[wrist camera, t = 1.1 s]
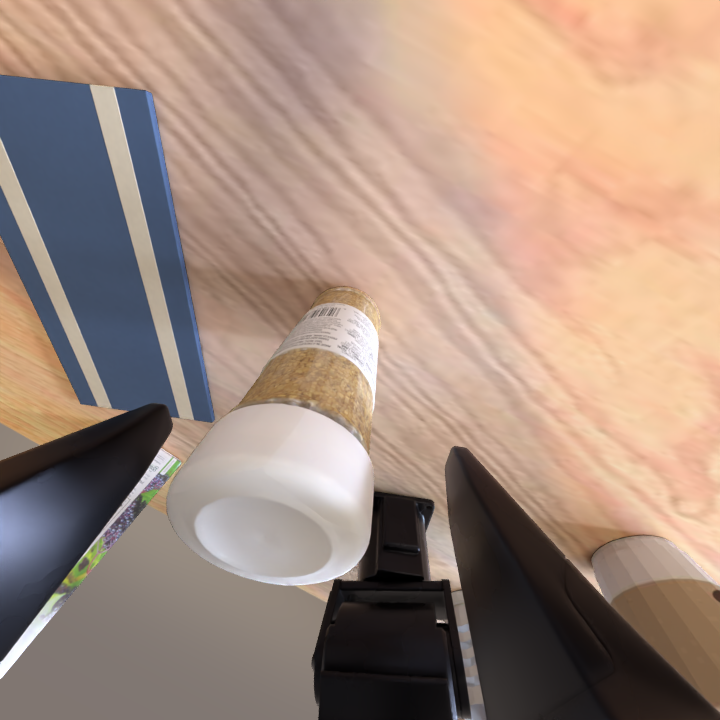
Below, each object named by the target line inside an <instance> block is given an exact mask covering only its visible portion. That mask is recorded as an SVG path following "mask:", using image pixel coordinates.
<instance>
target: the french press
mask: <svg viewBox="0 0 720 720" xmlns="http://www.w3.org/2000/svg"><path fill="white" fill-rule="evenodd" d="M451 594H452V599H453V605H454V611H455V616H456V622H457V628H458V633H459V639H460V645H461V651H462V657H463V663H464V669H465V675H466V682H467V688H468V695H469V702H470V709H471V718H472V719H465V720H487V718H486V713H485V707H484V702H483V697H482V692H481V687H480V681H479V676H478V671H477V666H476V660H475V655H474V650H473V645H472V640H471V634H470V629H469V624H468V619H467V614H466V608H465V603H464V598H463V593H462V590H461V591H455V592H452V593H451ZM444 621H445V623H447V620H444Z"/></svg>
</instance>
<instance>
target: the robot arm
mask: <svg viewBox="0 0 720 720" xmlns="http://www.w3.org/2000/svg"><path fill="white" fill-rule="evenodd" d="M172 428H173V423H172V419H171V416H170V412H169V409H168V407H167V406H166V405H165V404H159V403H150V404H147V405H145V406H142V407H139V408H137V409H134V410H131V411H129V412H126V413H124V414H121V415H118V416H116V417H113V418H111V419H108V420H105V421H103V422H100V423H98V424H95V425H92V426H90V427H87V428H85V429H82V430H79V431H77V432H74V433H71V434H69V435H66V436H64V437H61V438H58V439H56V440H53V441H51V442H48V443H45V444H43V445H40V446H38V447H35V448H32V449H30V450H27V451H25V452H22V453H19V454H17V455H14V456H12V457H9V458H6V459H4V460H1V461H0V662H1V661H3V660H4V658H5V657H6V656H7V654H8V653H9V652H10V650H11V649H12V648H13V646H14V645H15V644H16V643H17V641H18V640H19V639H20V637H21V636H22V635H23V633H24V632H25V631H26V629H27V628H28V627H29V625H30V624H31V623H32V622H33V620H34V619H35V618H36V616H37V615H38V614H39V612H40V611H41V610H42V608H43V607H44V606H45V604H46V603H47V602H48V601H49V599H50V598H51V597H52V595H53V594H54V593H55V591H56V590H57V589H58V587H59V586H60V585H61V583H62V582H63V581H64V580H65V578H66V577H67V576H68V574H69V573H70V572H71V570H72V569H73V568H74V566H75V565H76V564H77V563H78V561H79V560H80V559H81V557H82V556H83V555H84V553H85V552H86V551H87V549H88V548H89V547H90V545H91V544H92V543H93V542H94V540H95V539H96V538H97V536H98V535H99V534H100V532H101V531H102V530H103V528H104V527H105V526H106V524H107V523H108V522H109V521H110V519H111V518H112V517H113V515H114V514H115V513H116V511H117V510H118V509H119V507H120V506H121V505H122V503H123V502H124V501H125V500H126V498H127V497H128V496H129V494H130V493H131V492H132V490H133V489H134V488H135V486H136V485H137V484H138V482H139V481H140V480H141V478H142V477H143V476H144V474H145V473H146V471H147V470H148V468H149V466H150V465H151V463H152V462H153V460H154V458H155V457H156V455H157V454H158V452H159V450H160V449H161V447H162V446H163V444H164V442H165V441H166V439H167V438H168V436H169V434H170V433H171V431H172ZM445 480H446V492H447V504H448V516H449V524H450V530H451V536H452V541H453V546H454V551H455V556H456V562H457V567H458V572H459V577H460V582H461V588H462V593H463V598H464V603H465V608H466V614H467V619H468V624H469V629H470V634H471V640H472V645H473V650H474V655H475V660H476V666H477V671H478V676H479V681H480V687H481V692H482V697H483V702H484V707H485V713H486V718H487V720H720V712H719V711H718V710H717V709H716V708H715V707H714V706H713V705H712V704H711V703H710V702H709V701H708V700H707V699H706V698H705V697H704V696H703V695H702V694H701V693H700V692H699V691H698V690H697V689H696V688H695V687H694V686H693V685H692V684H691V683H690V682H688V681H687V680H686V679H685V678H684V677H683V676H682V675H681V674H680V673H679V672H678V671H677V670H676V669H675V668H674V667H673V666H672V665H671V664H670V663H669V662H668V661H667V660H666V659H665V658H664V657H663V656H662V655H661V654H660V653H659V652H658V651H657V650H656V649H655V648H654V647H653V646H652V645H651V644H650V643H649V642H648V641H647V640H646V639H645V638H644V637H643V636H642V635H641V634H640V633H639V632H638V631H637V630H636V629H635V628H634V627H633V626H632V625H631V624H630V623H629V622H628V621H627V620H626V619H625V618H624V617H623V616H622V615H621V614H620V613H619V612H618V611H617V610H616V609H615V608H614V607H613V606H612V605H611V604H610V603H609V602H608V601H607V600H606V599H605V598H604V597H603V596H602V595H601V594H600V593H599V592H598V591H597V590H596V589H595V588H594V586H593V585H592V584H591V583H590V582H589V581H588V580H587V579H586V578H585V577H584V576H583V575H582V574H581V573H580V571H579V570H578V569H577V568H576V567H575V566H574V565H573V564H572V563H571V562H570V561H569V560H568V559H565V555H564V554H563V553H562V552H561V551H560V550H559V549H558V548H557V546H556V545H555V544H554V543H553V542H552V541H551V540H550V539H549V538H548V537H547V535H546V534H545V533H544V532H543V531H542V530H541V529H540V528H539V527H538V526H537V524H536V523H535V522H534V521H533V520H532V519H531V518H530V517H529V516H528V515H527V513H526V512H525V511H524V510H523V509H522V508H521V507H520V506H519V505H518V504H517V503H516V501H515V500H514V499H513V498H512V497H511V496H510V495H509V494H508V493H507V492H506V490H505V489H504V488H503V487H502V486H501V485H500V484H499V483H498V482H497V481H496V479H495V478H494V477H493V476H492V475H491V474H490V473H489V472H488V471H487V470H486V468H485V467H484V466H483V465H482V464H481V463H480V462H479V461H478V460H477V459H476V458H475V456H474V455H473V454H472V453H471V452H470V451H469V450H468V449H467V448H464V447H458V446H454V447H452V448H451V451H450V454H449V456H448V459H447V462H446V465H445ZM434 508H435V506H434V502H433V501H432V500H428V499H421V498H414V497H407V496H400V495H394V494H387V493H380V492H374V495H373V511H372V524H371V535H370V540H369V545H368V548H367V550H366V552H365V554H364V555H363V557H362V558H361V560H360V561H359V570H358V581H342V579H335V580H334V583H333V587H332V591H330V595H329V598H328V602H327V606H326V610H325V614H324V617H323V621H322V625H321V629H320V633H319V636H318V640H317V644H316V648H315V652H314V654H313V657H312V669H313V671H314V691H315V699H316V703H317V705H318V706H319V717H318V718H319V719H318V720H458V718H462V719H472V718H471V709H470V702H469V695H468V688H467V682H466V675H465V669H464V663H463V657H462V651H461V645H460V639H459V633H458V628H457V622H456V616H455V611H454V605H453V599H452V594H451V588H450V582H449V579H442V581H431V577H430V568H429V560H428V551H427V542H426V530H427V527H428V525H429V522H430V519H431V517H432V514H433V511H434ZM436 619H437V620H447V623H437V620H436Z"/></svg>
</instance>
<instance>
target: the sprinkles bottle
mask: <svg viewBox="0 0 720 720" xmlns="http://www.w3.org/2000/svg"><path fill="white" fill-rule="evenodd" d="M380 326H381V321H380V314H379V311H378V308H377V306H376V304H375V303H374V301H373V300H372V298H370V297H369V296H368V295H367V294H365V293H364V292H362V291H360V290H358V289H355V288H352V287H347V286H343V287H335V288H332V289H328V290H326V291H325V292H323V293H322V294H321V295H319V296H318V297H317V298H316V300H315V301H314V303H313V305H312V306H311V308H310V311H308V312H307V313H306V314H305V315H304V316H303V317H302V318H301V320H300V321H299V322H298V324H297V325H296V326H295V327H294V329H293V330H292V331H291V332H290V334H289V335H288V336H287V338H286V339H285V340H284V341H283V343H282V344H281V345H280V347H279V348H278V349H277V351H276V352H275V353H274V354H273V356H272V357H271V358H270V360H269V361H268V362H267V364H266V365H265V366H264V368H263V370H262V372H261V374H260V376H259V378H258V379H257V380H256V382H255V383H254V385H253V386H252V387H251V389H250V390H249V391H248V392H247V394H246V395H245V397H244V398H243V399H242V401H241V402H240V403H239V405H237V406H236V407H234V408H233V409H232V410H231V411H230V412H229V413H228V414H227V415H225V416H224V417H223V418H221V419H220V420H219V421H218V422H217V423H216V424H215V425H214V426H213V427H212V428H211V429H210V431H209V432H208V433H207V435H206V436H205V437H204V438H203V440H202V441H201V442H200V443H199V445H198V446H197V447H196V449H195V450H194V451H193V453H192V454H191V455H190V457H189V458H188V460H187V461H186V462H185V464H184V465H183V466H182V468H181V469H180V470H179V472H178V473H177V475H176V476H175V477H174V479H173V481H172V483H171V485H170V487H169V491H168V494H167V514H168V518H169V521H170V523H171V525H172V527H173V529H174V530H175V532H176V534H177V535H178V536H179V537H180V539H181V540H182V541H183V542H184V543H185V544H186V545H187V546H188V547H189V548H190V549H191V550H192V551H194V552H195V553H196V554H198V555H199V556H200V557H202V558H203V559H205V560H206V561H208V562H210V563H211V564H213V565H215V566H217V567H219V568H221V569H223V570H225V571H228V572H231V573H233V574H236V575H239V576H241V577H244V578H248V579H251V580H255V581H260V582H264V583H271V584H278V585H308V584H316V583H321V582H325V581H328V580H331V579H334V578H337V577H339V576H341V575H343V574H345V573H346V572H348V571H349V570H351V569H352V568H353V567H354V566H355V565H357V563H358V562H359V561H360V560H361V558H362V557H363V555H364V554H365V552H366V550H367V548H368V545H369V540H370V535H371V524H372V511H373V495H374V470H373V466H372V463H371V458H370V456H369V449H370V435H371V423H372V413H373V410H374V401H375V387H376V372H377V357H378V334H379V330H380Z"/></svg>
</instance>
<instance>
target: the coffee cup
mask: <svg viewBox="0 0 720 720" xmlns="http://www.w3.org/2000/svg"><path fill="white" fill-rule="evenodd" d="M591 561H592V565H593V568H594V573H595V577H596V579H597V582H598V584H599V586H600V589H601V591H602V593H603V595H604V598H605V599H606V600H607V601H608V602H609V603H610V604H611V605H612V606H613V607H614V608H615V609H616V610H617V611H618V612H619V613H620V614H621V615H622V616H623V617H624V618H625V619H626V620H627V621H628V622H629V623H630V624H631V625H632V626H633V627H634V628H635V629H636V630H637V631H638V632H639V633H640V634H641V635H642V636H643V637H644V638H645V639H646V640H647V641H648V642H649V643H650V644H651V645H652V646H653V647H654V648H655V649H656V650H657V651H658V652H659V653H660V654H661V655H662V656H663V657H664V658H665V659H666V660H667V661H668V662H669V663H670V664H671V665H672V666H673V667H674V668H675V669H676V670H677V671H678V672H679V673H680V674H681V675H682V676H683V677H684V678H685V679H686V680H687V681H688V682H690V683H691V684H692V685H693V686H694V687H695V688H696V689H697V690H698V691H699V692H700V693H701V694H702V695H703V696H704V697H705V698H706V699H707V700H708V701H709V702H710V703H711V704H712V705H713V706H714V707H715V708H716V709H717V710H718V711H719V712H720V585H719V584H718V583H717V582H716V581H715V580H714V579H713V578H712V577H711V576H710V575H708V574H707V573H706V572H705V571H704V570H703V569H702V568H701V567H700V566H699V565H698V564H697V563H696V562H695V561H694V560H693V559H692V558H691V557H690V556H689V555H688V554H687V553H686V552H684V551H682V550H680V549H679V548H678V547H677V546H676V545H675V544H674V543H673V542H671V541H669V540H667V539H664V538H661V537H655V536H633V537H626V538H622V539H618V540H615V541H612V542H610V543H608V544H606V545H604V546H602V547H600V548H599V549H598V550H597V551H596V552H595V553H594V554H593V557H592V559H591Z"/></svg>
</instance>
